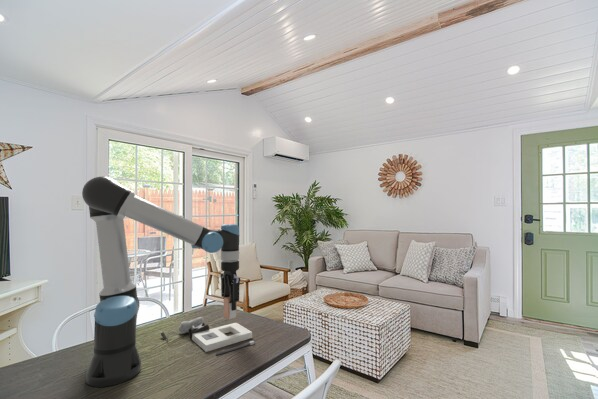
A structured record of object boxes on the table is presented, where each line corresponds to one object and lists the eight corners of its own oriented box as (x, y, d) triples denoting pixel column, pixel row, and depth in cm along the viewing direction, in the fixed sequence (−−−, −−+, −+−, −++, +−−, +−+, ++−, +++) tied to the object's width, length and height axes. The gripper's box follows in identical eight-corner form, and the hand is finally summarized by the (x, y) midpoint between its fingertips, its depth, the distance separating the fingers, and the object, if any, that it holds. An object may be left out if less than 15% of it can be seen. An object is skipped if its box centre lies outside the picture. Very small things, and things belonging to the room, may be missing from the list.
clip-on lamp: (165, 352, 118) (210, 333, 127) (162, 338, 117) (207, 320, 126) (161, 339, 128) (203, 322, 137) (158, 325, 127) (201, 309, 136)
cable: (216, 356, 109) (216, 353, 109) (214, 354, 110) (215, 352, 110) (254, 343, 120) (254, 341, 120) (253, 342, 121) (253, 340, 121)
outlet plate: (205, 351, 113) (206, 344, 113) (192, 339, 123) (192, 332, 123) (252, 337, 125) (252, 331, 126) (235, 327, 136) (236, 321, 136)
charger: (228, 319, 124) (228, 299, 124) (223, 316, 127) (223, 297, 127) (236, 317, 127) (236, 297, 127) (232, 314, 130) (232, 295, 130)
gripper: (248, 262, 124) (248, 319, 123) (228, 257, 137) (228, 309, 136) (231, 264, 119) (231, 324, 118) (213, 259, 132) (213, 313, 131)
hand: (230, 316), depth 127 cm, fingers closed on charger, 4 cm apart
